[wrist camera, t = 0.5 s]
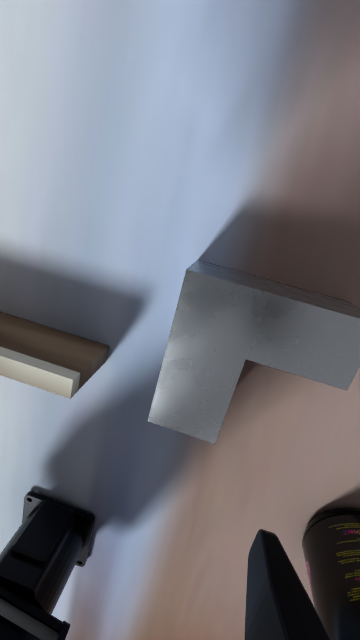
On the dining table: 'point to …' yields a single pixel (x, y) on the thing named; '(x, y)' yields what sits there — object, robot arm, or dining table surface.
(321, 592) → the supplement container
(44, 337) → the tan l-shaped wall
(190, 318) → the bracket
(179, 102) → the dining table surface
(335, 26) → the dining table surface
